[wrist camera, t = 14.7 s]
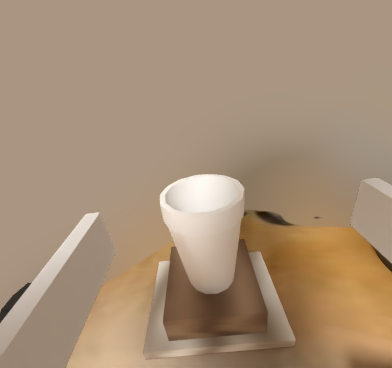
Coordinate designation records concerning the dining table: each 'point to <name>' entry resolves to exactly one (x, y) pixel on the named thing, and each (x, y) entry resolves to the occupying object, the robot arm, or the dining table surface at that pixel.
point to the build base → (218, 344)
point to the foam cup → (205, 227)
